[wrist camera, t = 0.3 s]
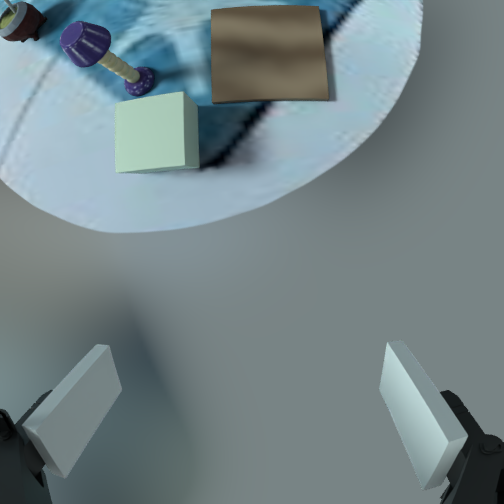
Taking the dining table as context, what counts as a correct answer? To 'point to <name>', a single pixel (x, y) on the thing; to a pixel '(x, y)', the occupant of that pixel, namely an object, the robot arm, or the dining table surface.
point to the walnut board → (267, 54)
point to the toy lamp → (102, 55)
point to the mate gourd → (20, 22)
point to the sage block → (156, 134)
